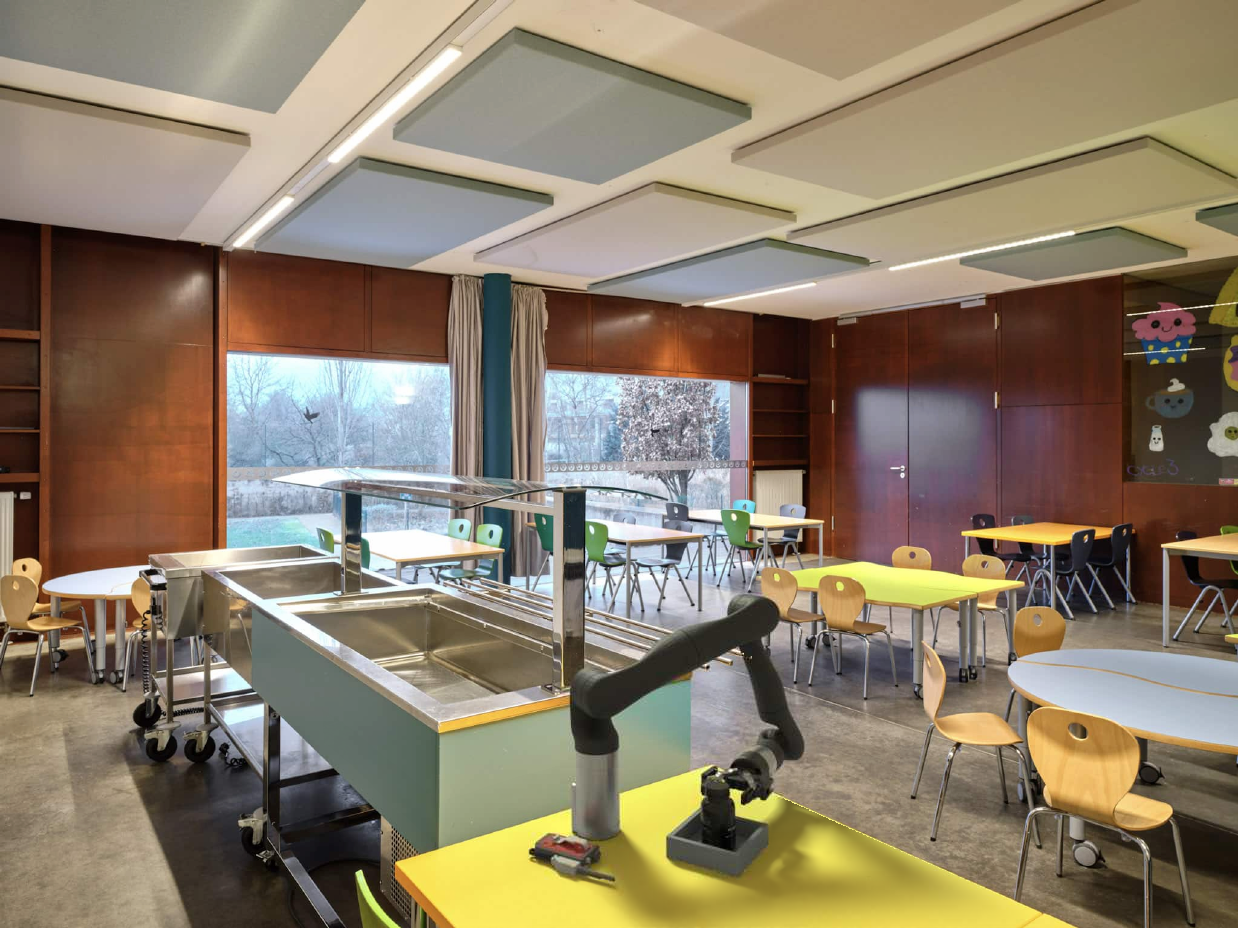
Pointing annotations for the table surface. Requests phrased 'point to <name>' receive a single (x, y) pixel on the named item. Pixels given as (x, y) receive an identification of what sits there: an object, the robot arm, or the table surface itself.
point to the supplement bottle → (718, 816)
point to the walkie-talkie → (569, 855)
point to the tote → (691, 850)
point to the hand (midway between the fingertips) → (722, 795)
